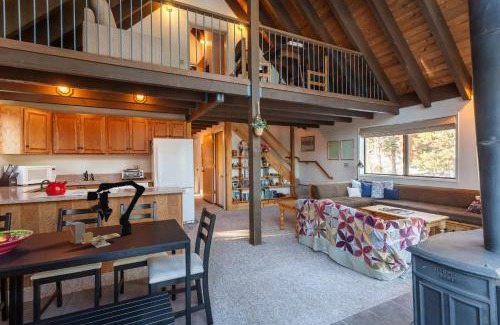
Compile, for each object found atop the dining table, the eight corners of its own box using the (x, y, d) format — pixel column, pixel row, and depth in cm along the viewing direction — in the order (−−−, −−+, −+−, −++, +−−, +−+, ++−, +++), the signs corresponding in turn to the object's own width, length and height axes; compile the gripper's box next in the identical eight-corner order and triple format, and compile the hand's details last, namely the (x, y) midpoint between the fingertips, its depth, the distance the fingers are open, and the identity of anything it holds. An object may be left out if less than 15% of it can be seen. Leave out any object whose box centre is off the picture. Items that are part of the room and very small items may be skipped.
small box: (69, 242, 172) (68, 223, 172) (79, 239, 178) (78, 221, 178) (75, 244, 168) (75, 225, 168) (85, 241, 174) (85, 222, 174)
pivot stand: (104, 240, 175) (104, 233, 175) (110, 244, 166) (110, 237, 166) (91, 243, 169) (91, 236, 169) (96, 247, 161) (96, 240, 161)
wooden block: (90, 238, 166) (90, 231, 166) (93, 240, 162) (92, 233, 162) (81, 240, 162) (81, 233, 162) (84, 242, 159) (83, 235, 159)
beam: (116, 234, 178) (116, 233, 178) (120, 236, 173) (120, 234, 173) (80, 241, 162) (80, 240, 162) (82, 244, 157) (82, 242, 157)
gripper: (87, 199, 183) (87, 221, 183) (95, 202, 170) (95, 225, 170) (104, 198, 191) (104, 218, 191) (112, 200, 178) (113, 222, 178)
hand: (104, 221), depth 183 cm, fingers open, 9 cm apart
